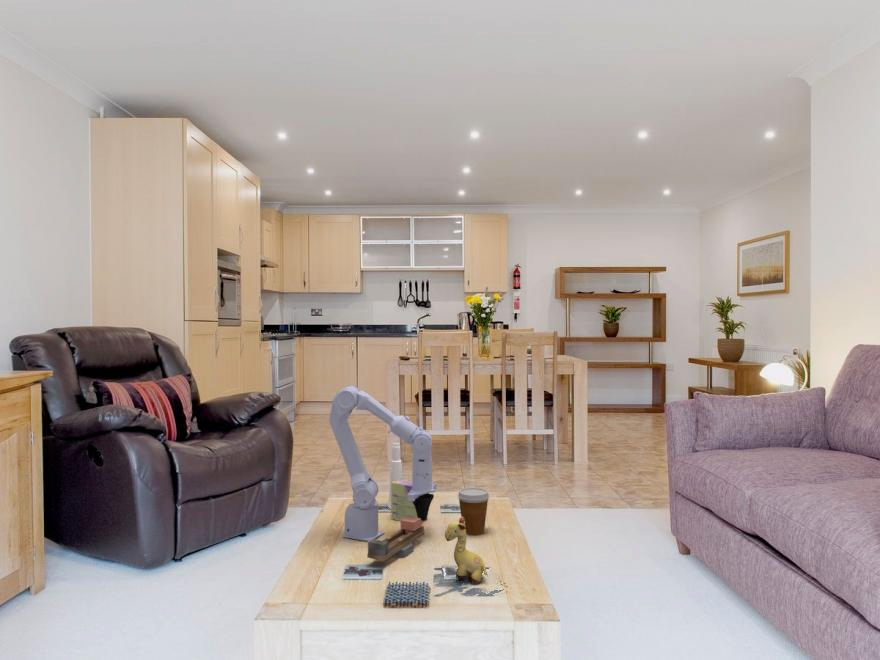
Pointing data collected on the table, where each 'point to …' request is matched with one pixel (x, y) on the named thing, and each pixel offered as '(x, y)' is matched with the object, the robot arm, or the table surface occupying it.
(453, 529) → the stuffed giraffe
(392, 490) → the box
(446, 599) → the table surface
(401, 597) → the spiky bristle mat
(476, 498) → the disposable coffee cup
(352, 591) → the table surface
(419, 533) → the beam
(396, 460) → the cosmetic bottle
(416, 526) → the block
